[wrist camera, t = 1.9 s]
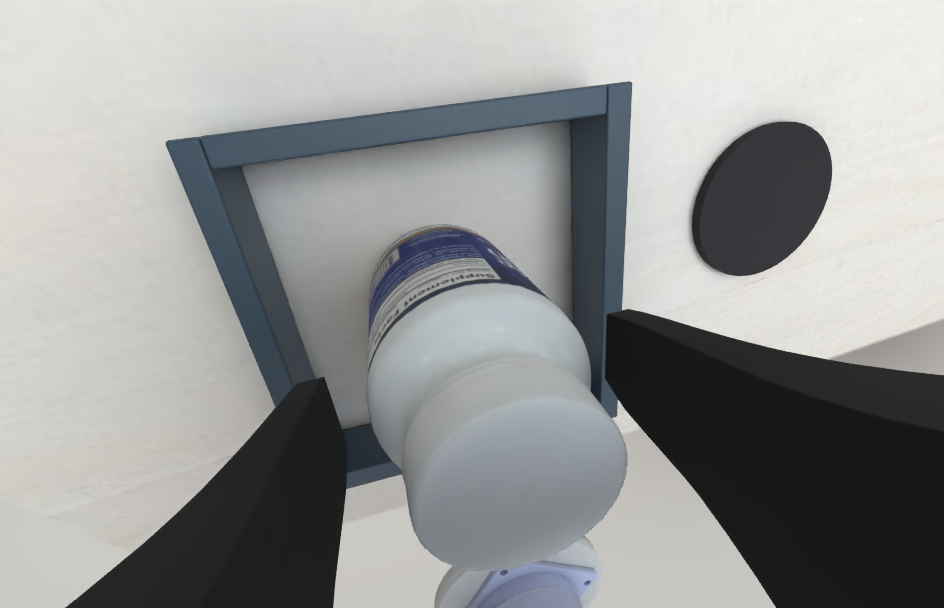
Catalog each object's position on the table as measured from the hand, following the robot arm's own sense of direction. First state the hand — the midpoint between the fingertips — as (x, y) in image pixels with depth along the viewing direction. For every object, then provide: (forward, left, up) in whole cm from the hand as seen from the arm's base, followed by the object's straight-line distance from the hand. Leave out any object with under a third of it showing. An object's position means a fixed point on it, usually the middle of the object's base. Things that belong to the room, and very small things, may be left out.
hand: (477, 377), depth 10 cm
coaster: (+9, -11, -6) cm, 16 cm away
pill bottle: (0, 0, -6) cm, 6 cm away
